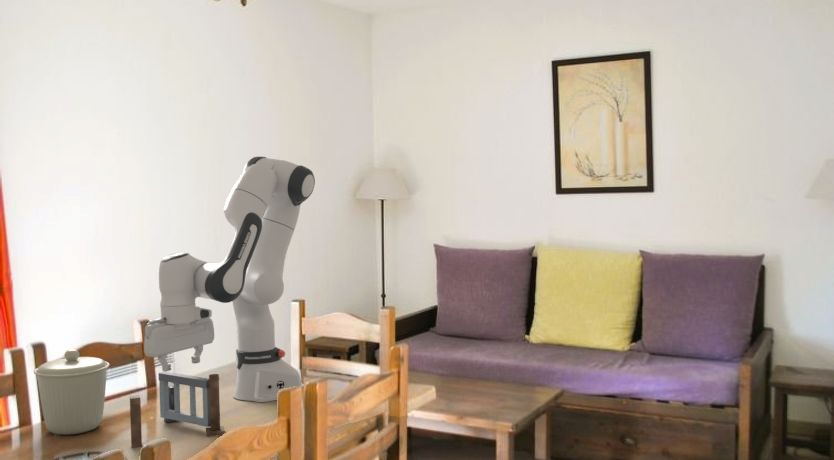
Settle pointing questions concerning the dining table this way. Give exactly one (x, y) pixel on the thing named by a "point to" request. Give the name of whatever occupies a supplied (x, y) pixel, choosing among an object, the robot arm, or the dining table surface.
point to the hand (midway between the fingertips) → (181, 366)
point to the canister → (72, 393)
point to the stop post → (171, 404)
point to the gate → (164, 398)
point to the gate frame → (212, 431)
